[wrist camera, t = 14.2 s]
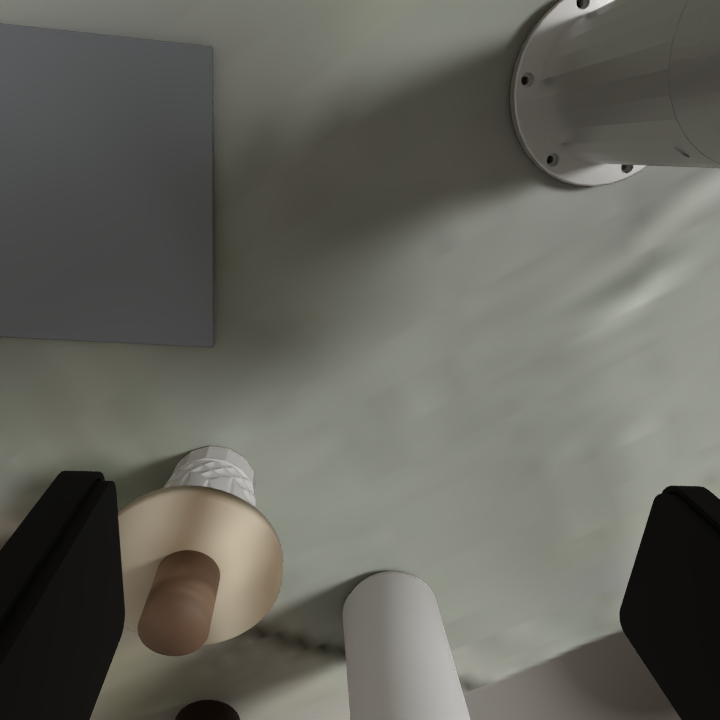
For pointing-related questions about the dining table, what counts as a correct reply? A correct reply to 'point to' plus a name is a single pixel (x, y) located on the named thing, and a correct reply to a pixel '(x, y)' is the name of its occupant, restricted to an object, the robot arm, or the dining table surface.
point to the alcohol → (399, 652)
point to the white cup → (216, 472)
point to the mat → (106, 188)
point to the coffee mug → (207, 711)
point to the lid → (196, 567)
